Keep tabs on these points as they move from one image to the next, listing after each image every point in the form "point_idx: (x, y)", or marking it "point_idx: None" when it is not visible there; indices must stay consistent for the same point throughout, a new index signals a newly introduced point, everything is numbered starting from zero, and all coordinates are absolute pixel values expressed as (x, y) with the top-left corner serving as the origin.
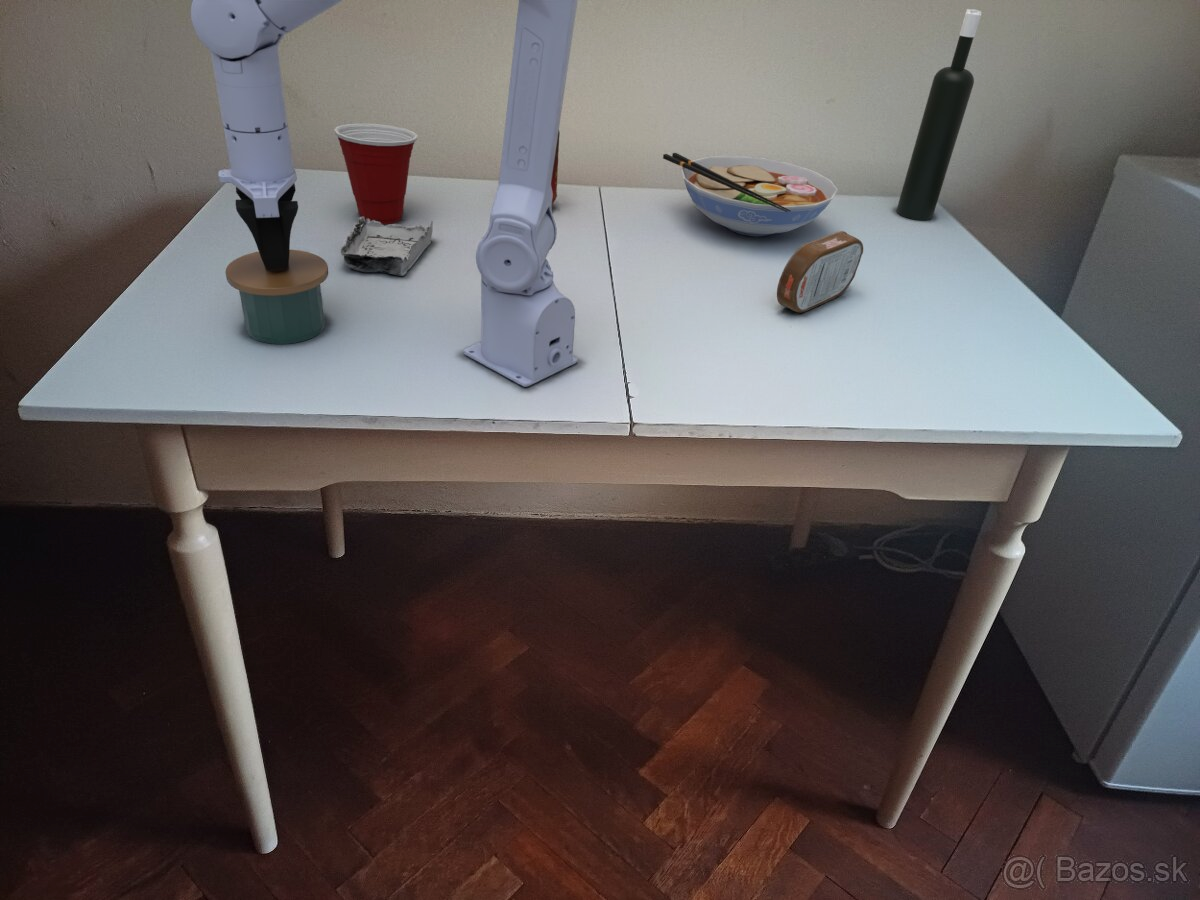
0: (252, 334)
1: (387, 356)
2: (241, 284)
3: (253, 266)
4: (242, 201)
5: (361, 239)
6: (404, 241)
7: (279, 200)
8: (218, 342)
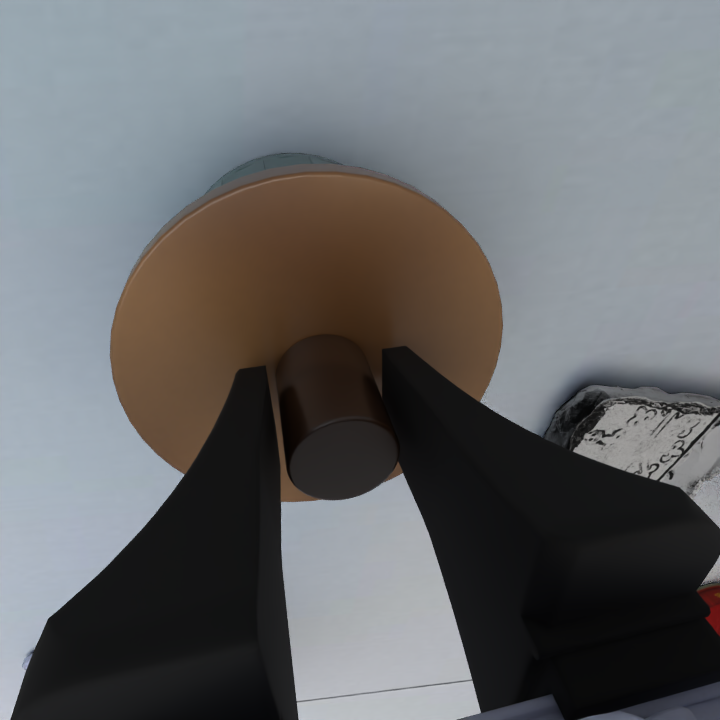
0: (219, 181)
1: (131, 481)
2: (142, 261)
3: (346, 289)
4: (203, 694)
5: (712, 401)
6: (668, 464)
7: (477, 632)
8: (193, 55)
